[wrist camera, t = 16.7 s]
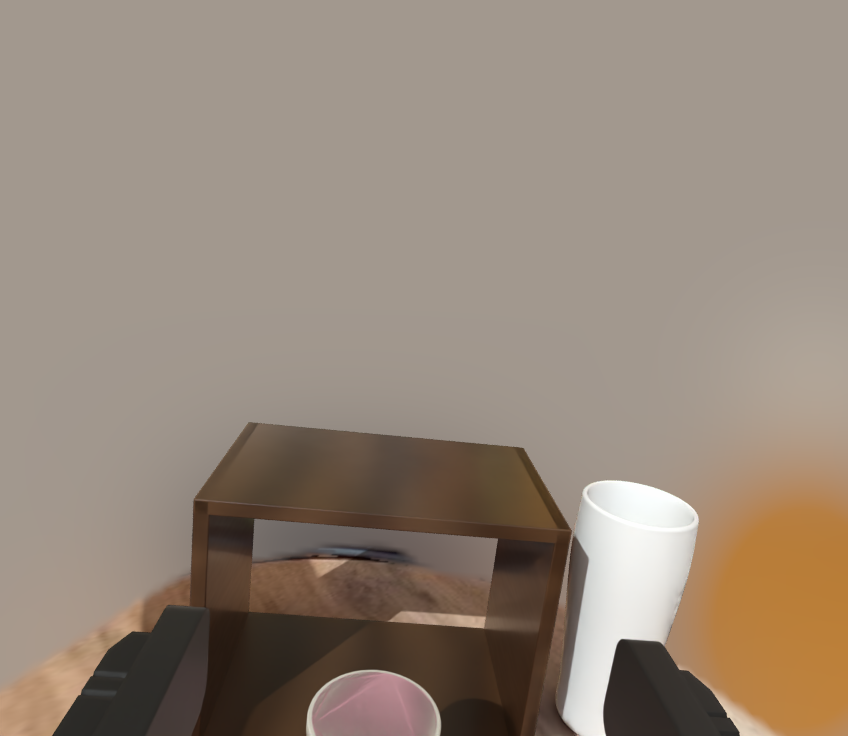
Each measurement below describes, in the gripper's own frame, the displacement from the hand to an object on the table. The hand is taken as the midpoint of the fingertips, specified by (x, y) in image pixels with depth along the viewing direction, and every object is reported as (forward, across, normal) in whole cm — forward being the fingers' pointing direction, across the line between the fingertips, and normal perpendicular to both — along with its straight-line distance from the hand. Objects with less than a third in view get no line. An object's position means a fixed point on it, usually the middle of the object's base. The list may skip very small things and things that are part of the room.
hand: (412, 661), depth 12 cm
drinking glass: (+23, -15, +21) cm, 35 cm away
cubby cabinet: (+24, 0, +21) cm, 32 cm away
